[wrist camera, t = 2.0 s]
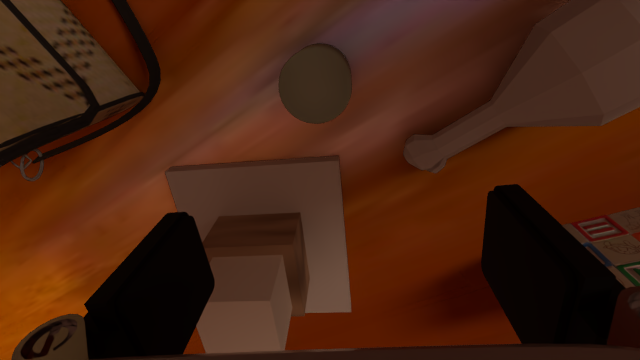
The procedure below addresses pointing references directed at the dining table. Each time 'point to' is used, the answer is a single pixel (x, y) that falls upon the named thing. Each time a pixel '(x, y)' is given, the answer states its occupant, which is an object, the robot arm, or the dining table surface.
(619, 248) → the stack of blocks
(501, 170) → the dining table surface
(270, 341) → the middle block
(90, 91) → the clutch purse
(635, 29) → the chicken leg
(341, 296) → the grey board
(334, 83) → the olive domed cylinder
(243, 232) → the base block
